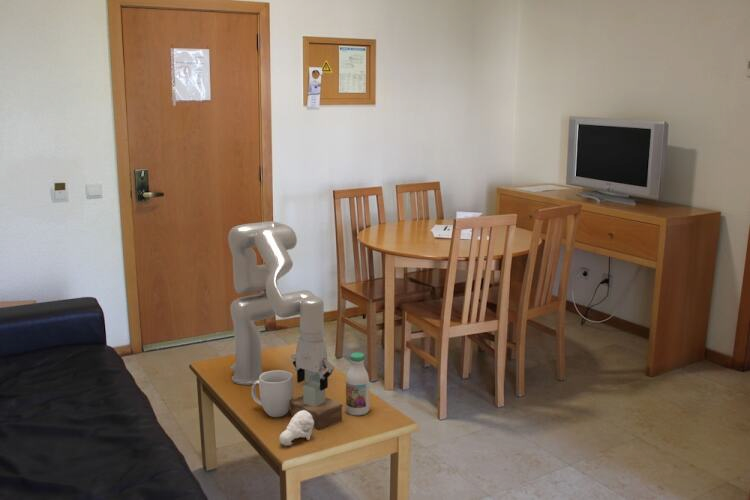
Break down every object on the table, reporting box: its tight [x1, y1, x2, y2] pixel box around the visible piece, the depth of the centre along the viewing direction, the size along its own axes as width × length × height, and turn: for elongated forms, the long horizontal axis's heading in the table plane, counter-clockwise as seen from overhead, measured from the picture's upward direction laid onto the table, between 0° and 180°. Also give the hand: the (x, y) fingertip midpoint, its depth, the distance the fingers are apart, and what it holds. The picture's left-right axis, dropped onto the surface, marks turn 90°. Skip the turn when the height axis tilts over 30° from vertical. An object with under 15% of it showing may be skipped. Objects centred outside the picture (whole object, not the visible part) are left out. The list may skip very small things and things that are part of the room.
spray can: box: [304, 370, 321, 385], centre depth 263 cm, size 6×6×20 cm
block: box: [302, 381, 326, 407], centre depth 235 cm, size 5×5×6 cm
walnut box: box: [290, 395, 344, 431], centre depth 236 cm, size 14×10×6 cm
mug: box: [250, 369, 294, 418], centre depth 241 cm, size 15×11×13 cm
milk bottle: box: [345, 352, 370, 416], centre depth 240 cm, size 8×8×20 cm
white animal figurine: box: [278, 410, 314, 447], centre depth 221 cm, size 6×8×12 cm
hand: (312, 385), depth 235 cm, fingers open, 9 cm apart
